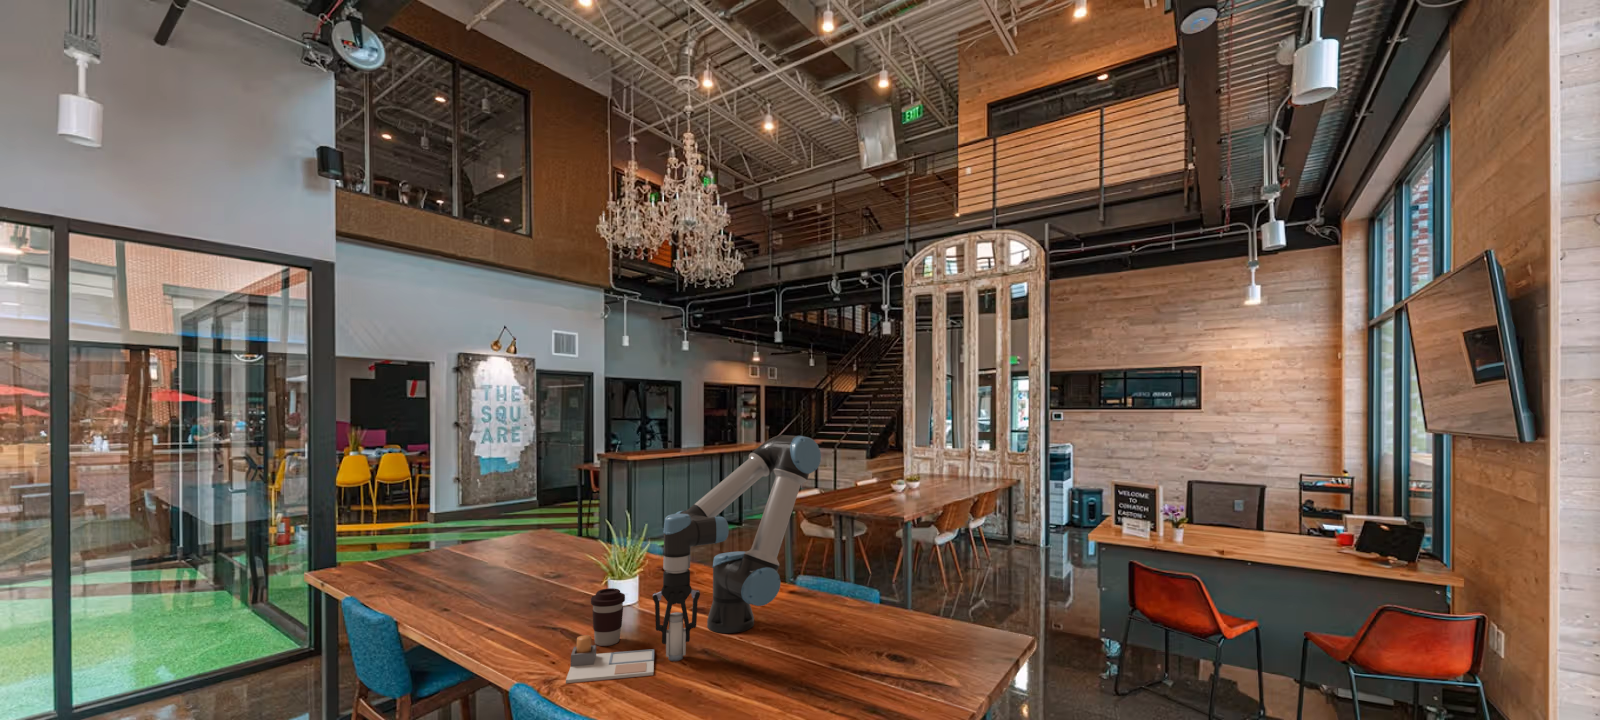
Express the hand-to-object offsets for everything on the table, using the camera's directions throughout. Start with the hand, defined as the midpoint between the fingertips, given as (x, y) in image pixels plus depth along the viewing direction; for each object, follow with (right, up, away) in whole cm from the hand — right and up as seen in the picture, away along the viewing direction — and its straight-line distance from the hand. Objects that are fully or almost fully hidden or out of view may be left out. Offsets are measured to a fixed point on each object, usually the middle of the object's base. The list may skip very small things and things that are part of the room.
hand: (675, 654), depth 175 cm
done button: (-25, +1, -4) cm, 25 cm away
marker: (0, -1, 0) cm, 1 cm away
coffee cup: (-23, -2, +12) cm, 26 cm away
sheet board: (-16, -1, -6) cm, 17 cm away
